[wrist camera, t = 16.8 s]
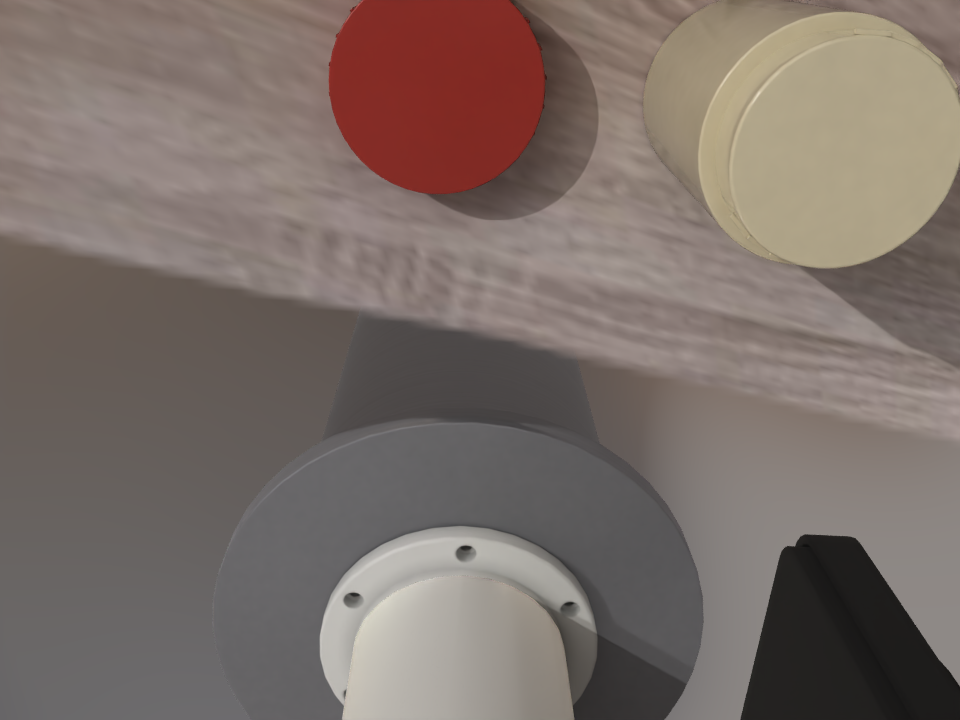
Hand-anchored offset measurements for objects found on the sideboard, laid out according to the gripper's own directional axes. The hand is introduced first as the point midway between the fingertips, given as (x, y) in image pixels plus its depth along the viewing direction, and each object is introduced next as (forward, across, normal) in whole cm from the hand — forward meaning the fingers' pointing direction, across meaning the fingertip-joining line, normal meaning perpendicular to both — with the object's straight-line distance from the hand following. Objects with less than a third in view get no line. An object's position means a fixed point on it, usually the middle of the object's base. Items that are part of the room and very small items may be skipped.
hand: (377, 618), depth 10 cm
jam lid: (+21, 0, -3) cm, 22 cm away
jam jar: (+23, -10, -3) cm, 25 cm away
